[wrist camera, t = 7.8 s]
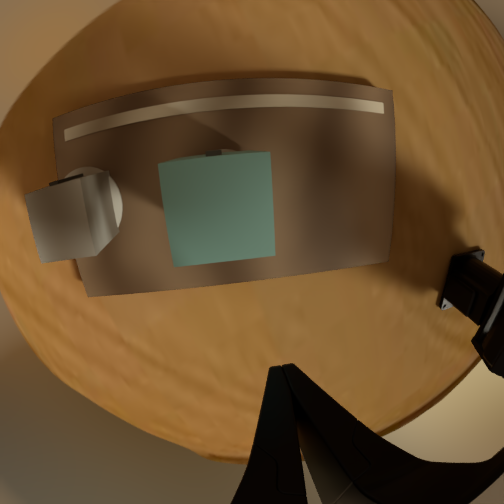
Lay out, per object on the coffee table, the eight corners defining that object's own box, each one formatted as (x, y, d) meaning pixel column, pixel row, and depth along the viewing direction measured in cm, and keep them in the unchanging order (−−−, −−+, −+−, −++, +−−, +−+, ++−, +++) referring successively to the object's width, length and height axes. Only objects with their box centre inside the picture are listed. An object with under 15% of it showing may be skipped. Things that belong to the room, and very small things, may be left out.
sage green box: (249, 147, 15) (270, 146, 9) (254, 217, 16) (275, 255, 11) (178, 154, 14) (157, 158, 9) (187, 224, 16) (173, 267, 10)
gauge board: (383, 92, 16) (429, 83, 11) (380, 255, 21) (418, 284, 16) (54, 121, 13) (10, 119, 9) (87, 289, 18) (60, 328, 13)
